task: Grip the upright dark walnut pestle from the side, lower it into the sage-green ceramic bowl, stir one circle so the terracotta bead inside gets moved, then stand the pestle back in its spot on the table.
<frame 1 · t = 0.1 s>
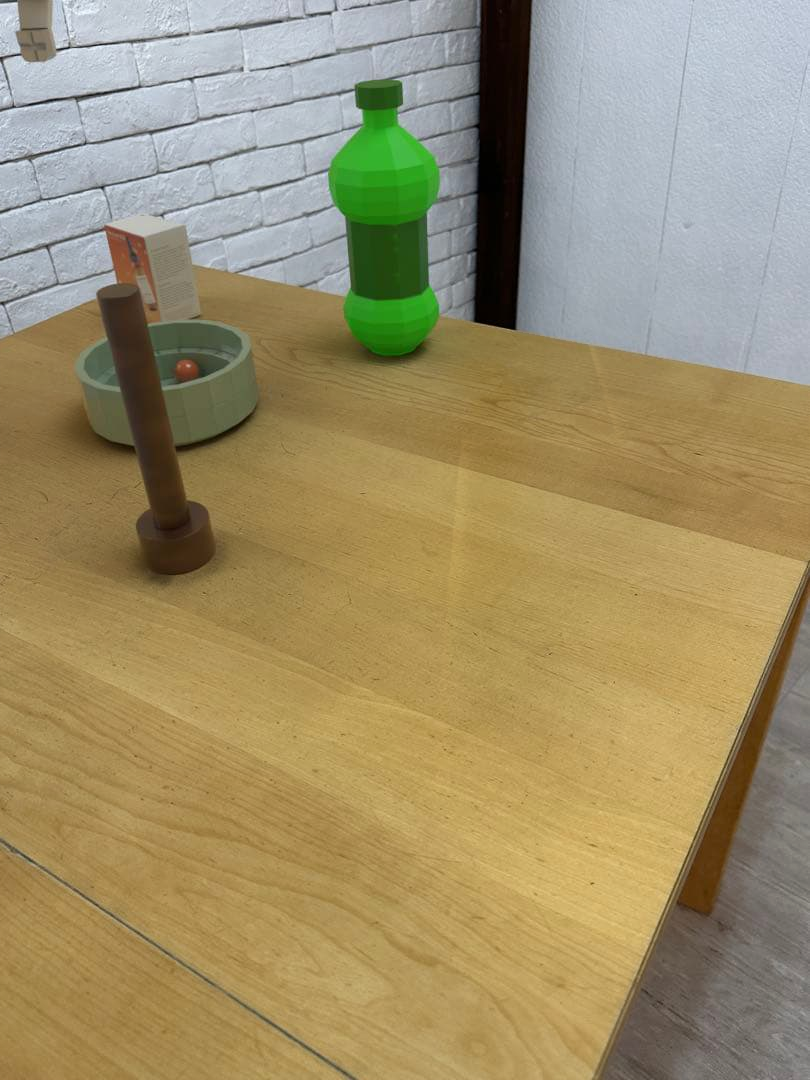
hand: (8, 73, 55), 31 cm above the table, tool pointing down, fingers open, 8 cm apart
plastic bottle: (393, 347, 96), on the table
bowl: (176, 412, 85), on the table
pestle: (180, 553, 67), on the table
bead: (186, 371, 88), point 2 cm above the table, touching bowl
small box: (163, 316, 106), on the table
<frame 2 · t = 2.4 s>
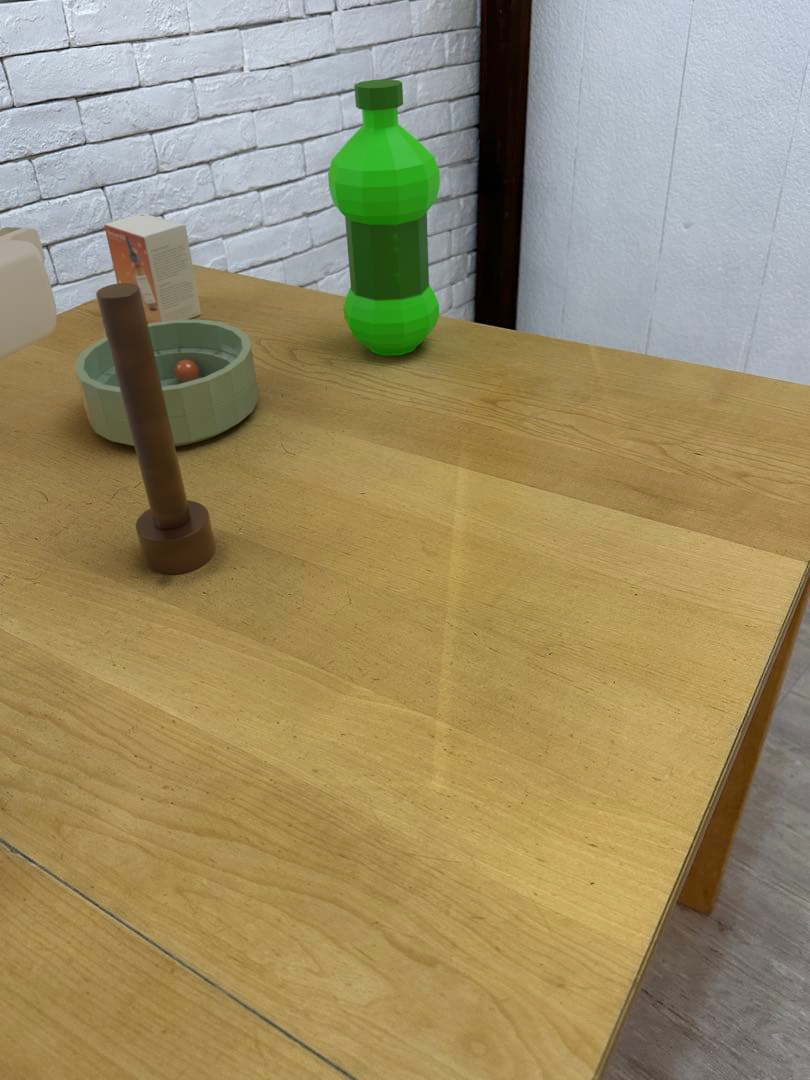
nothing on the table moved.
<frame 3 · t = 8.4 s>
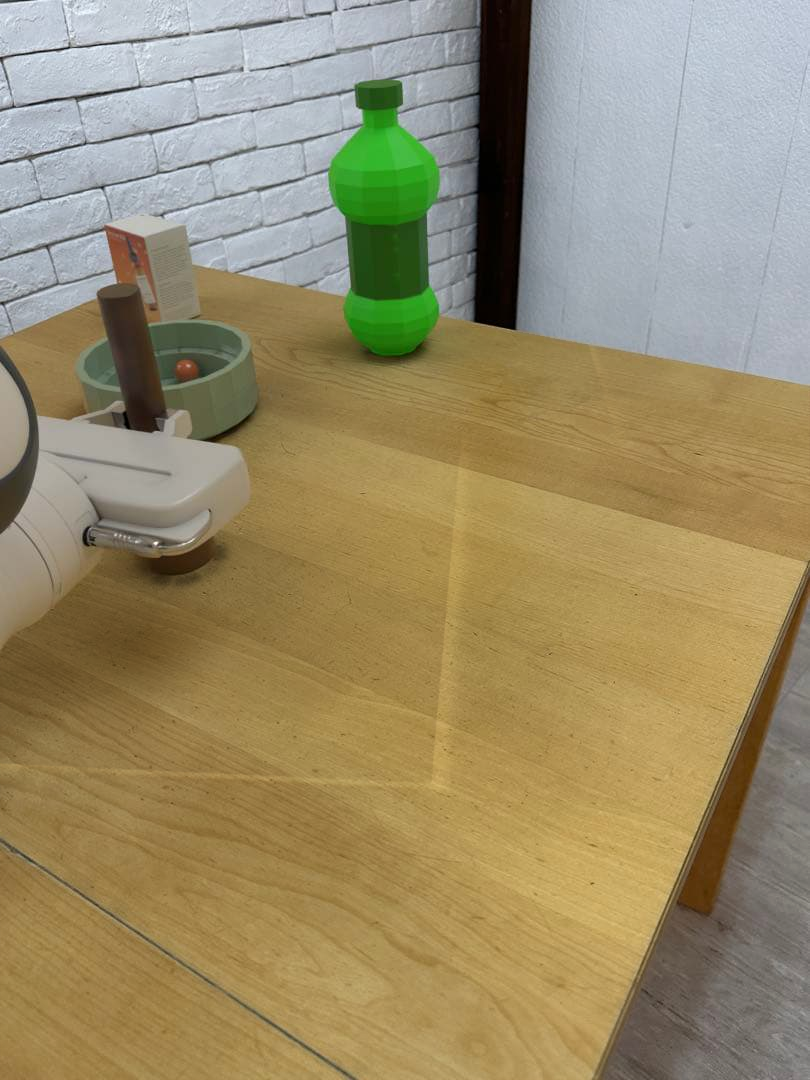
hand: (155, 414, 61), 11 cm above the table, tool horizontal, fingers closed on pestle, 2 cm apart
pestle: (180, 553, 67), on the table, touching gripper
everything else where it was.
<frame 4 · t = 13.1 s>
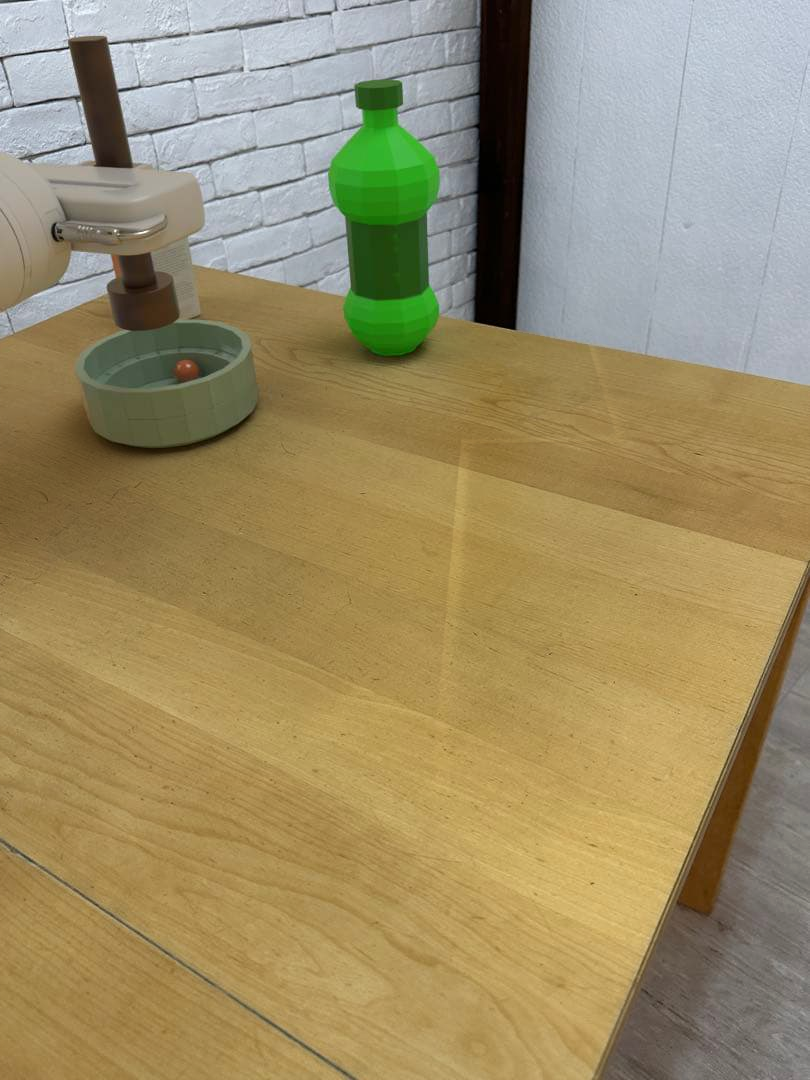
hand: (123, 173, 67), 23 cm above the table, tool horizontal, fingers closed on pestle, 2 cm apart
pestle: (147, 318, 73), point 12 cm above the table, touching gripper
everything else where it was.
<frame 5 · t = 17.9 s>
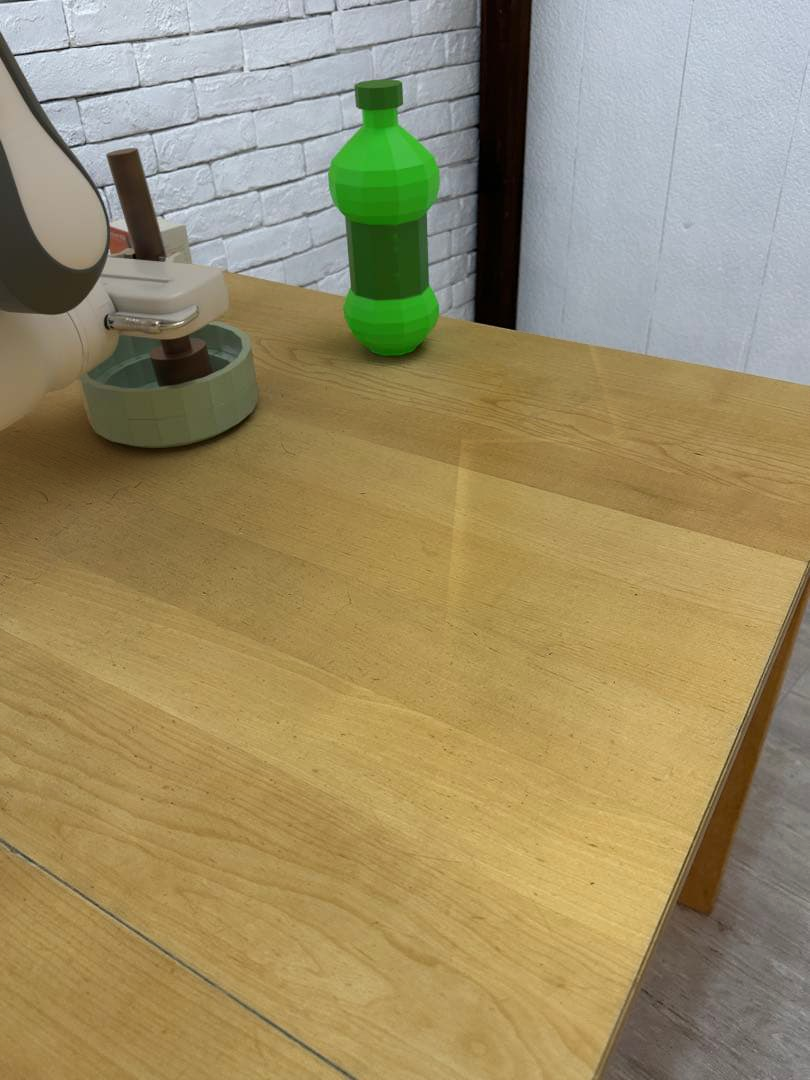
hand: (158, 259, 79), 14 cm above the table, tool horizontal, fingers closed on pestle, 3 cm apart
pestle: (185, 378, 85), point 3 cm above the table, tilted 6°, touching bead, gripper
bead: (185, 371, 88), point 2 cm above the table, tilted 13°, touching bowl, pestle
everything else where it was.
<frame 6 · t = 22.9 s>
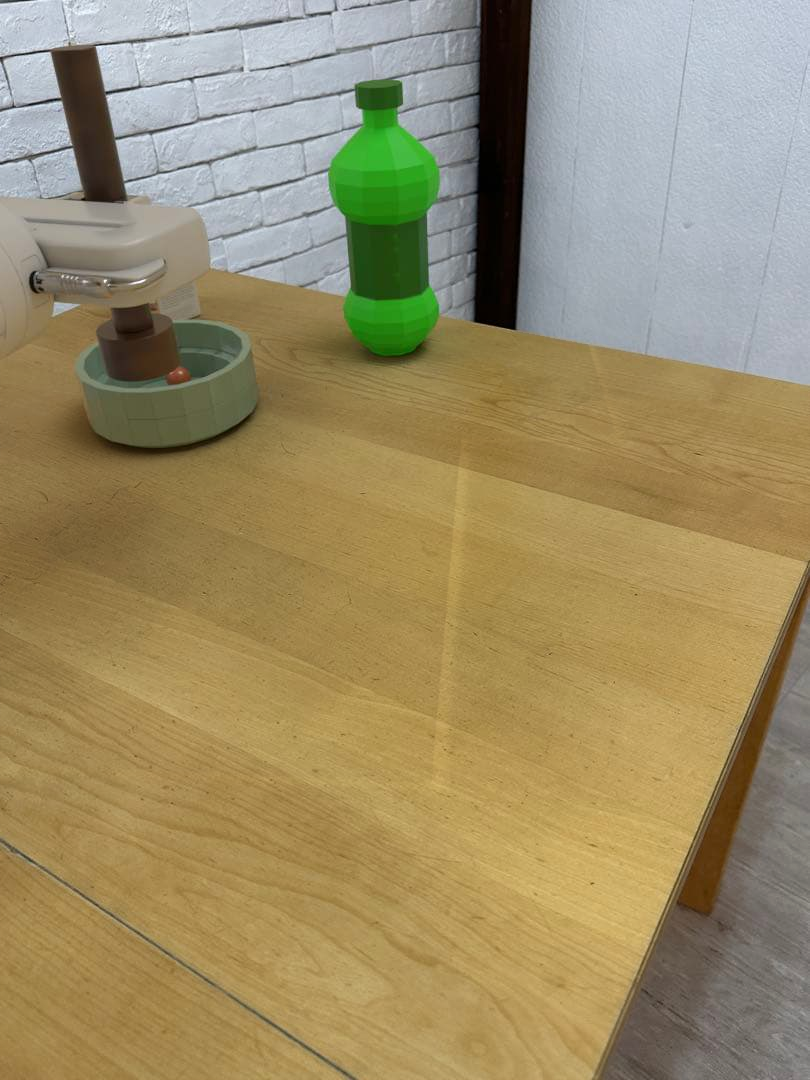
hand: (116, 206, 59), 23 cm above the table, tool horizontal, fingers closed on pestle, 2 cm apart
pestle: (143, 366, 64), point 12 cm above the table, touching gripper
bead: (178, 378, 87), point 2 cm above the table, tilted 71°, touching bowl
everything else where it was.
when the fingers open (11 cm above the table, at t = 27.3 s): pestle stays where it is, on the table.
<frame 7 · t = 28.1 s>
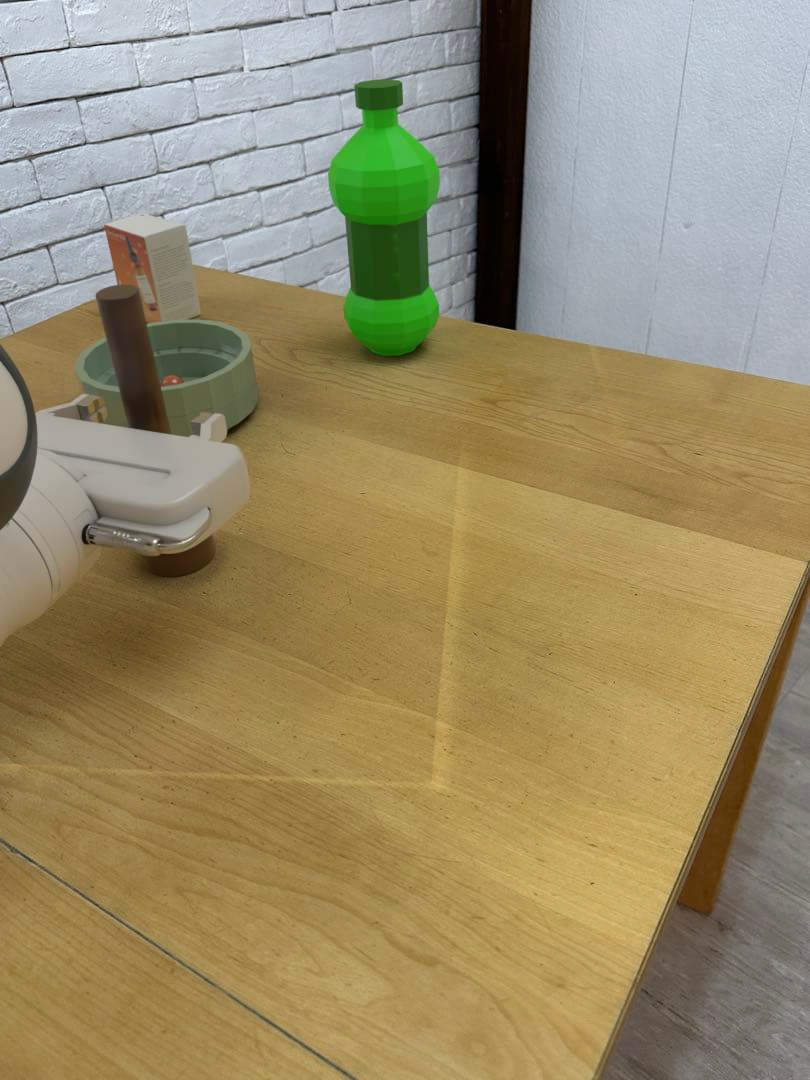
hand: (155, 413, 61), 11 cm above the table, tool horizontal, fingers open, 8 cm apart
pestle: (179, 555, 67), on the table
bead: (172, 387, 85), point 2 cm above the table, tilted 155°, touching bowl
everything else where it was.
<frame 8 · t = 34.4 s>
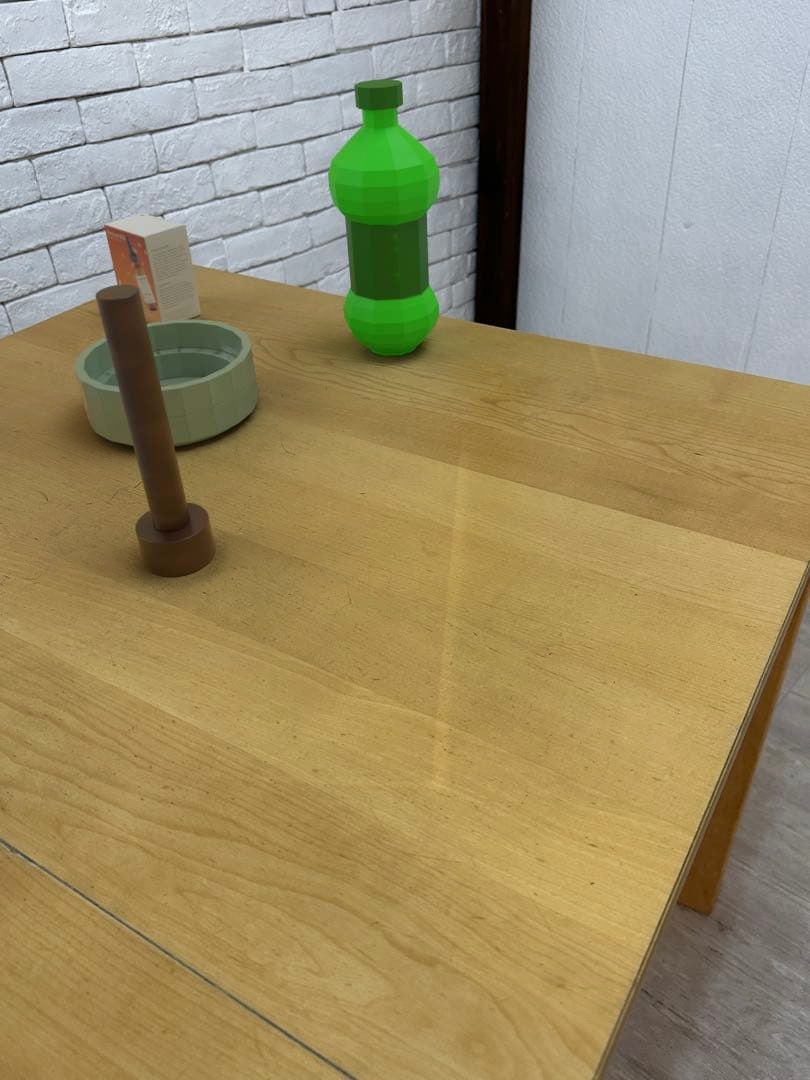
bead: (165, 398, 83), point 2 cm above the table, tilted 91°, touching bowl
everything else where it was.
at the end: bead moved 5.7 cm from its start; pestle inside the target area (0.3 cm from its centre), on the table; pestle tilted 0° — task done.
